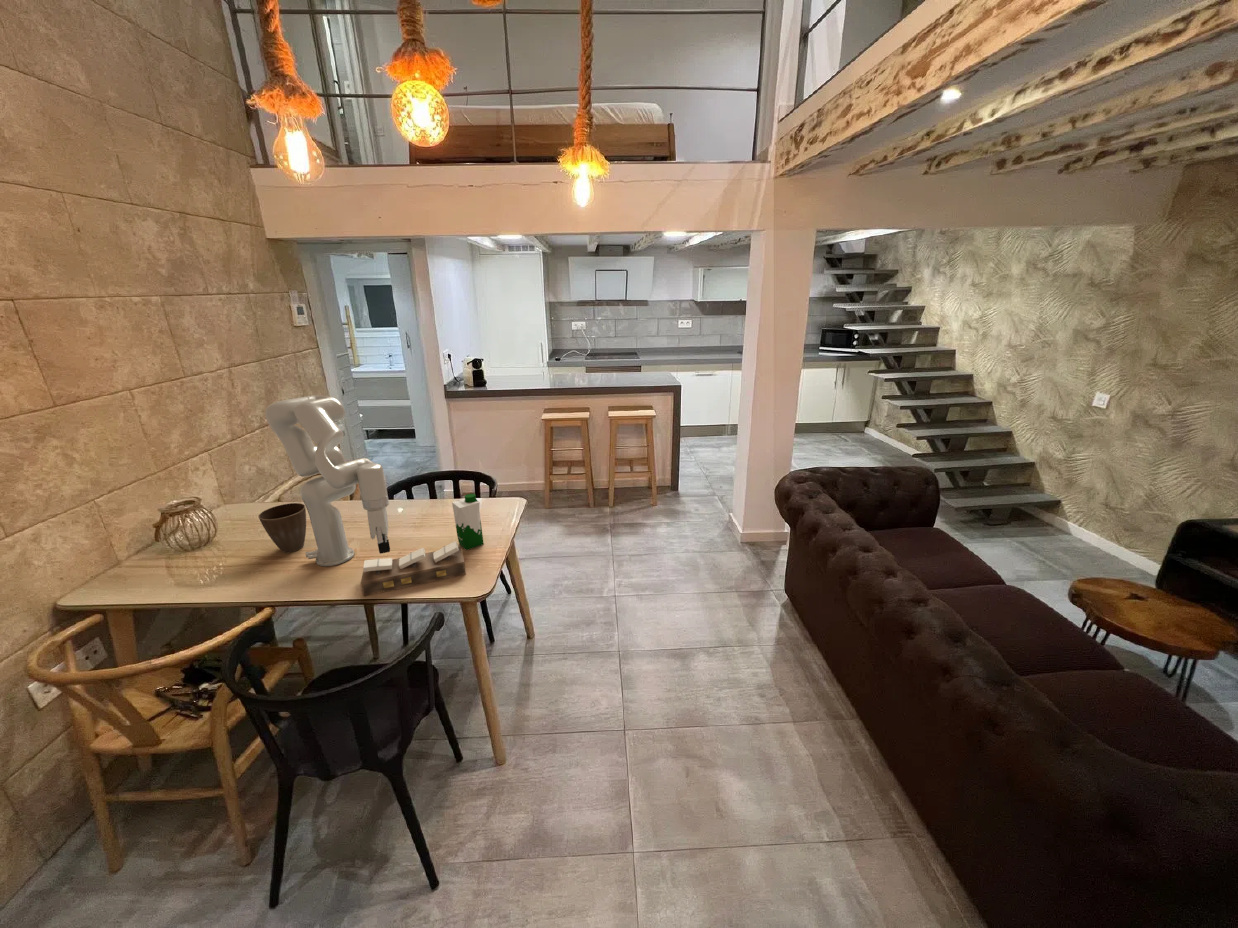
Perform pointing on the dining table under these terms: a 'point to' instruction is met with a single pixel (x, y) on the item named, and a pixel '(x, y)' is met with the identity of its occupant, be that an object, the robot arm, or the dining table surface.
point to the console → (413, 573)
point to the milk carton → (468, 522)
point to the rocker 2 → (411, 558)
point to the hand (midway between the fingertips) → (384, 551)
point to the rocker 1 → (377, 564)
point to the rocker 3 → (445, 551)
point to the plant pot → (286, 525)
